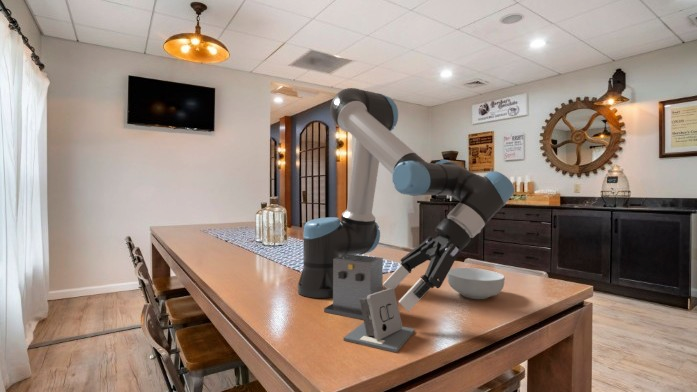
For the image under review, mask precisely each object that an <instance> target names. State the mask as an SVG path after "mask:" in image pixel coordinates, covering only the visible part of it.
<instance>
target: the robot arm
mask: <svg viewBox="0 0 697 392" xmlns="http://www.w3.org/2000/svg"><path fill="white" fill-rule="evenodd" d="M397 106H398V105H397V104H396V102H395V101H394V99H393V98H391V96H387V95H385V94H382V93H378V92H373V91H369V90H363V89H361V88H355V87H349V88H348V87H347V88H344V89H342V90H340V91H338V92H337V93H336V94H335V96H333V99H332V101H331V103H330V108H329V109H330V116H331V118H332V119H333V122H334V123H335V125H337V127H338V128H339V129H341V131H343V132H345V133H349V134H351V135H352V136H353V137H354V138H355V145H354V153H353V161H352V166H351V167H352V168H351V175H350V182H349V183H350V184H349V190H348V191H349V192H348V199H347V204H346V205H347V207H346V209H345V210H344V211H343V212H342V213H341V215H340V216H341V219H340V218H339V217H333V216H332V217H331V216H329V217H320V218H319V217H318V218H314V219H310V220H308V221H306V222H305V224H304V226H303V233H302V237H303V268H302V270H301V275H300V277H299V280H298V284H297V293H298V295H301V296H304V297H307V298H313V299H325V298H327V299H328V298H333V259H334V258H337V257H340V256H343V255H347V254H350V255H360V256H362V255H364V254H367V253H371V252H372V251H374V250H375V249H376V248H377V247H378V245H379V243H380V239H381V229H379V228H380V226H379V224H378V223H377V222H376V217H375V216H374V214H373V207H374V201H375V200H374V199H375V195H376V194H375V192H376V187H377V182H378V181H377V178H378V173H379V164H381V165H382V166H383V167H384V168H385V169H386V170H387V171H388V172H389V173H390V174H391V175H392V176H391V179H392V183H393V185H394V189H395V191H397V193H400V194H403V195H408V196H413V197H415V196H417V197H418V196H450V197H452V198H453V199H456V200H457V201H459V202H458V203H457V204H456V206H454V207H453V208H452V209H451V210H450V211H449V213H448V214H447V216H446V217H445V218H443V220H441V221H440V222H439V223H438V225H436V227H435V232H436V235H437V236H436V237H434V238H433V237H432V235H430V236H428V237H427V238H426V239H425V240H424V241H422V242H421V243H420V244H419V245H418V246H416V247H415V248H413V249H412V250H411V251H410V252H408V253H407V254H405V255H404V256H403V257H401V259H400V262H401V263H400V265H399V266H398V267H397V268H396V269H395V270H394V271H393V272H392V273H391V274H390V276H389V277H388V278H387V279H386V280H385V281H384V282H383V286H384V287H385V289H389V288H393V289H394V290H395V289H396V288H397V287H398V286H399V285H400V284H401V282H402V281H403V280H404V279H405V278H406V277H408V275H409V274H412V272H413V271H412V270H413V269H414V268H417V267H418V266H420V265H421V264H424V263H425V262H427V261H429V263H428V266H427V268H426V271H425V273H424V274H423V275H421V276H420V277H419V279H418V280H417V281H415V283H414V284H413V285H412V287H410V288H409V289H408V290H407V292H406V293H404V294H403V296H402V297H401V298H400V299H399V300H397V301H398V302H397V303H399V304H400V305H401V306H402V307H403V308H404V309H405V310H406V311H408V312H410V311H411V310H412V308H414V306H416V304H418V302H419V301H420V300H421V299H422V298H423V297H424V296H425V295H426V293H428V291H429V290H431V289H433V288H436V289H440V288H441V286H442V285H443V283H444V282H445V279H446V277H447V274H448V272H449V270H450V269H452V266H453V265H454V264H455V261H456V260H457V259H458V258H459V256H460V255H461V253H462V251H463V250H464V249H465V248H466V247H467V246H468V245H469V243H470V242H471V238H472V239H473V238H475V236H477V235H478V234H480V233H481V232H482V230H483V228H484V227H485V226H486V225H487V224H488V223H489V221H491V219H492V218H494V216H495V215H497V213H498V212H499V211H500V210H501V209H502V207H505V206H506V204H507V202H508V201H509V200H510V198H512V197H513V195H514V193H515V187H514V184H513V182H512V181H511V179H509V177H507V176H506V175H504V174H503V173H502V172H500V171H494V170H489V172H487V173H486V174H484V175H483V176H482V175H480V174H477V173H474V172H472V171H470V170H469V169H466V168H464V167H463V166H460V165H459V164H457V163H456V162H452V161H450V160H448V159H440V160H439V161H437V162H435V163H433V162H427V161H425V159H423V158H422V157H421V156H419V155H418V154H417V153H416V152H415V151H414V150H413V149H411V148H410V146H408V145H407V144H405V142H403V141H402V140H401V139H400V138H399V137H397V136H396V135H395V134H394V133H393V132H392V131H393V130H395V129H394V128H395V127H396V126H397V124H398V121H399V110H398V107H397Z"/></svg>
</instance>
